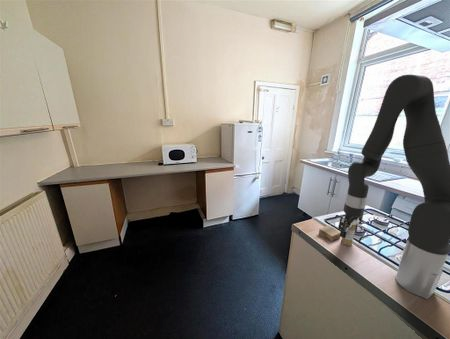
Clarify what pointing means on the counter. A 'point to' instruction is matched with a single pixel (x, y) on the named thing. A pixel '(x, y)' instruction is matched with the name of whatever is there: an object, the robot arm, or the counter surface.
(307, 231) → the counter surface
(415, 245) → the robot arm
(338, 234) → the walnut block
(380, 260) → the counter surface
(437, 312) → the counter surface
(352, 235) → the sprinkles bottle
